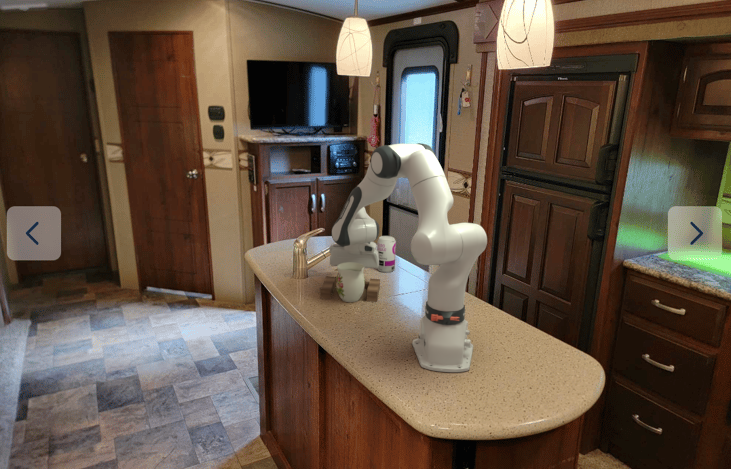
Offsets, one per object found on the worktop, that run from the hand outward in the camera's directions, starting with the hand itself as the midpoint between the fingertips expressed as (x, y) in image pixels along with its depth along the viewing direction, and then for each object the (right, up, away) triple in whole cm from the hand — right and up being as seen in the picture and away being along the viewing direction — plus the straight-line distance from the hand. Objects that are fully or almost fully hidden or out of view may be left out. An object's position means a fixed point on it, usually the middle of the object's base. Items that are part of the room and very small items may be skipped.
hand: (354, 276), depth 200 cm
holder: (-1, -6, -8) cm, 10 cm away
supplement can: (+14, +1, +20) cm, 24 cm away
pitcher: (-2, -7, -13) cm, 15 cm away
